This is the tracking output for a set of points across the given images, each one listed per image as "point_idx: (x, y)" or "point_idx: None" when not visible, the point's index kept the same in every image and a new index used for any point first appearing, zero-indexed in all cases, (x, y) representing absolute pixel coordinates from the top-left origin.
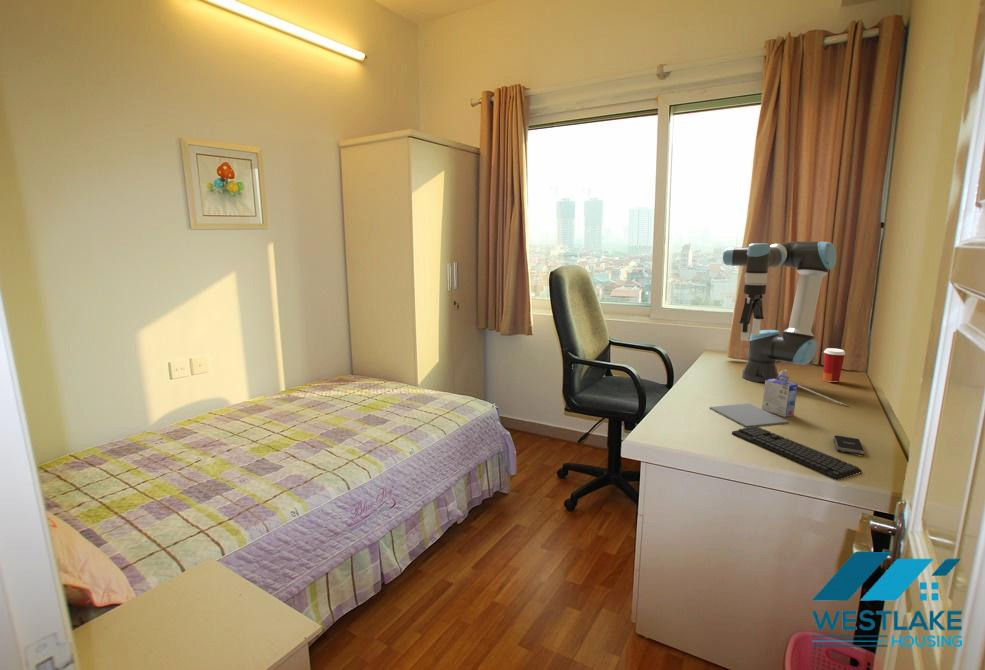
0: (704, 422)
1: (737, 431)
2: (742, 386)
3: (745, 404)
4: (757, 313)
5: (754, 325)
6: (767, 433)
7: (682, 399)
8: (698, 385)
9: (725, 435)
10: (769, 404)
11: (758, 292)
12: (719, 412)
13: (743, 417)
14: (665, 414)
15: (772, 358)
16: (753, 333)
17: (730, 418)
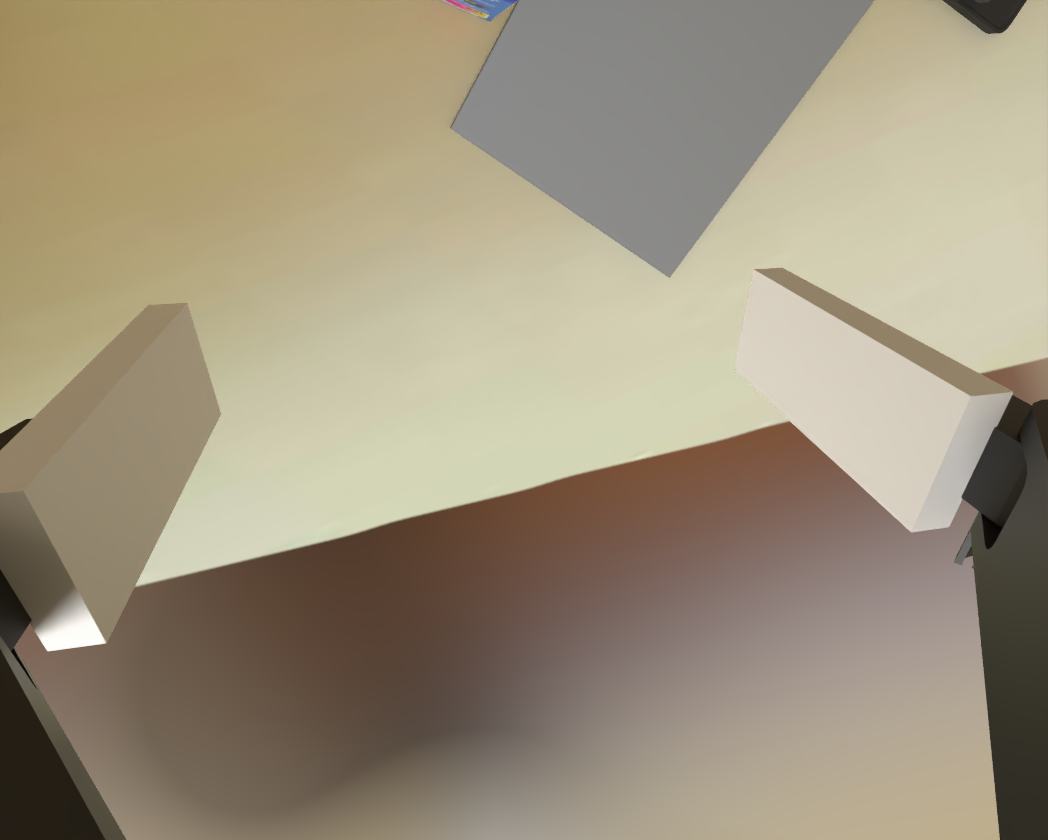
0: (880, 209)
1: (985, 9)
2: (73, 305)
3: (490, 138)
4: (50, 725)
5: (153, 487)
6: None
7: (606, 424)
8: (311, 479)
9: (1021, 53)
10: None
11: None
12: (722, 205)
13: (743, 61)
14: None
15: None
16: (207, 398)
17: (782, 121)
